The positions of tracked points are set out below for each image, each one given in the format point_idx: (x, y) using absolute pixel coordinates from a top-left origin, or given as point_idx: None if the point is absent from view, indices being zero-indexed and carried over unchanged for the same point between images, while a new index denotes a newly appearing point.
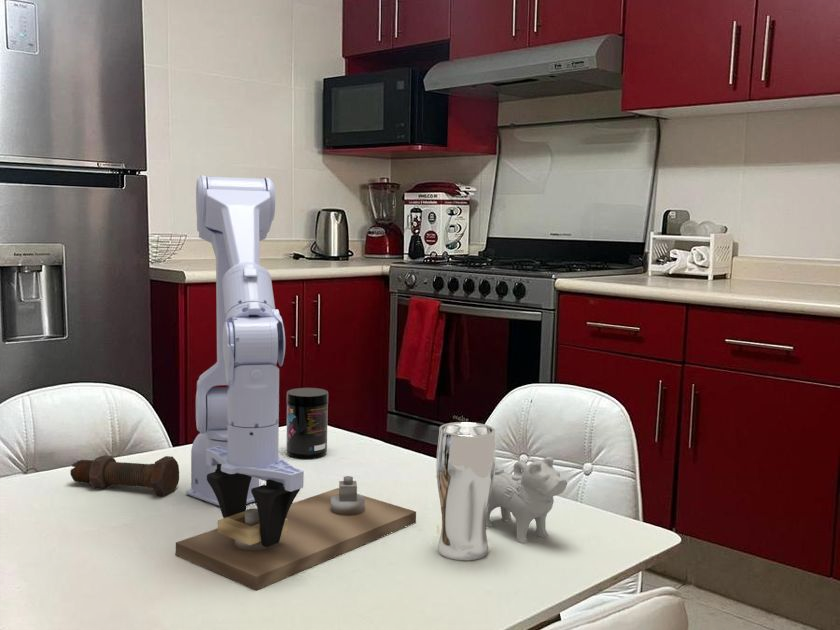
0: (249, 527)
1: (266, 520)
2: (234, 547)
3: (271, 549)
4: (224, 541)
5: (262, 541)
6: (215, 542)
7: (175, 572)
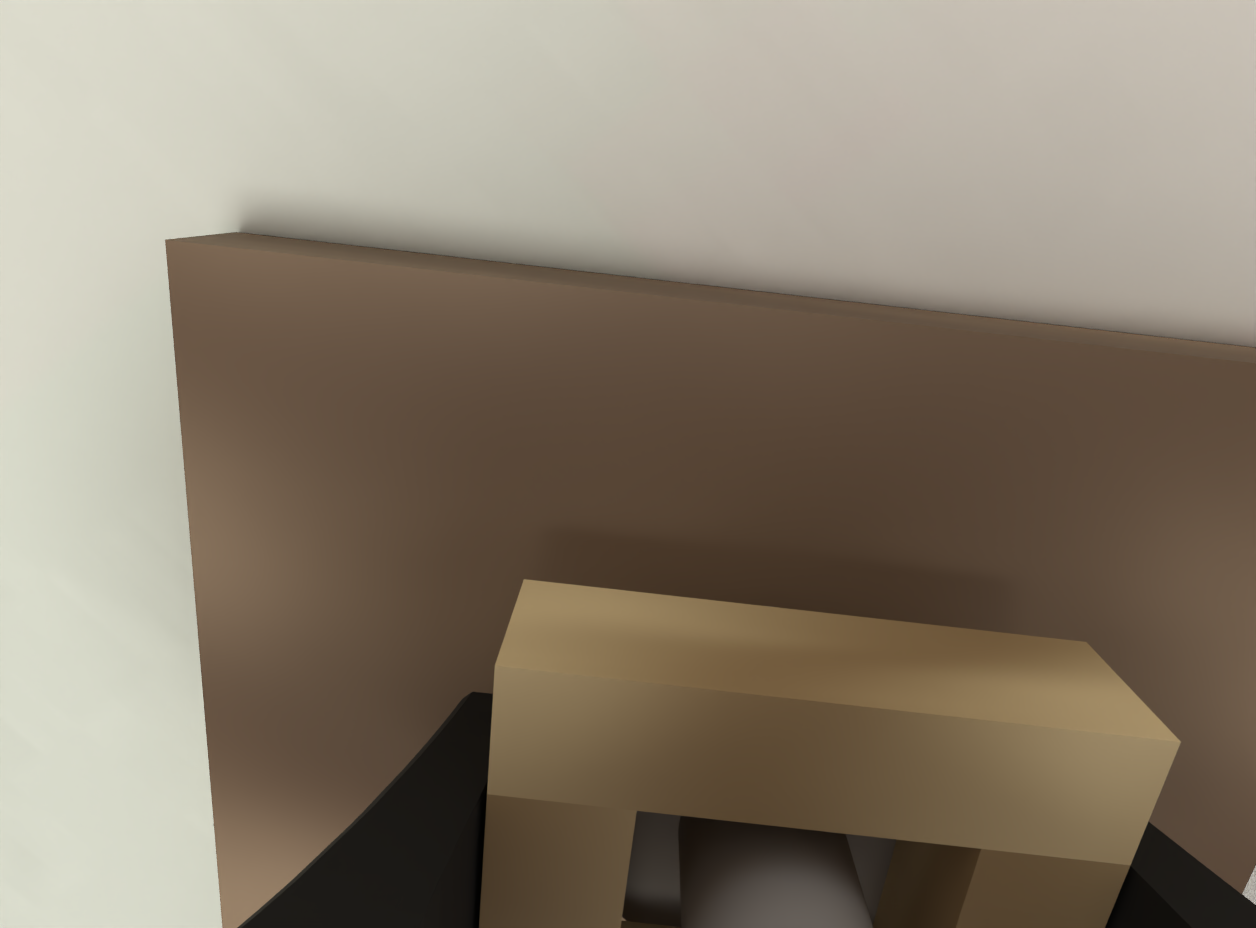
0: (625, 773)
1: (267, 906)
2: None
3: None
4: None
5: None
6: (1083, 609)
7: (1118, 68)
